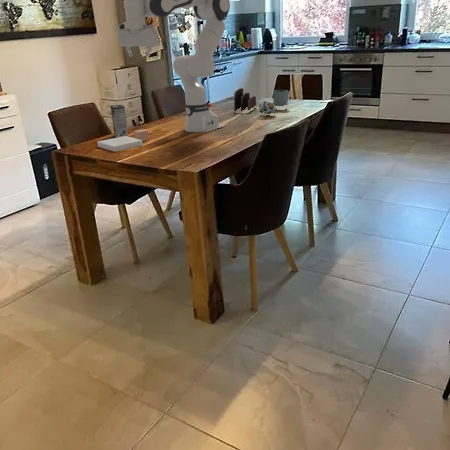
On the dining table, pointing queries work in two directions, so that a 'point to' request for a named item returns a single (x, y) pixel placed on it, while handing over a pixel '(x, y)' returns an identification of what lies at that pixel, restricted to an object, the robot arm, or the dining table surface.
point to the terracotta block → (141, 135)
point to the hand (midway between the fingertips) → (139, 56)
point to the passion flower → (267, 107)
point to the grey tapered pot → (280, 97)
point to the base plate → (120, 143)
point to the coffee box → (119, 120)
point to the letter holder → (243, 100)
